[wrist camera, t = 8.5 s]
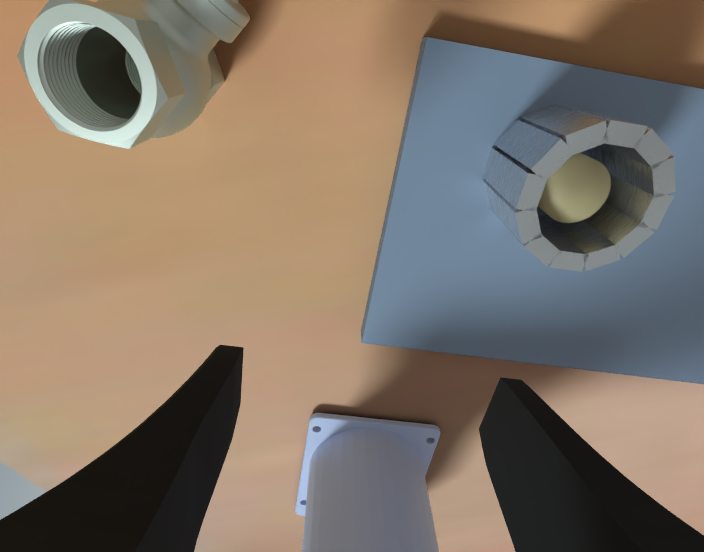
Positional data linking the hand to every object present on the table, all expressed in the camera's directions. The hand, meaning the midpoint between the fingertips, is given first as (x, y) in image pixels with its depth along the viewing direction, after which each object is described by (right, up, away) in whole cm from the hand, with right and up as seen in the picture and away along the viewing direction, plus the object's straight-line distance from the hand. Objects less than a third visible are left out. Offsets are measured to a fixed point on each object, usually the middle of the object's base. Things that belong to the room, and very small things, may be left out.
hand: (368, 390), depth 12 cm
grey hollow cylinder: (+8, +8, +6) cm, 12 cm away
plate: (+13, +5, +9) cm, 16 cm away
